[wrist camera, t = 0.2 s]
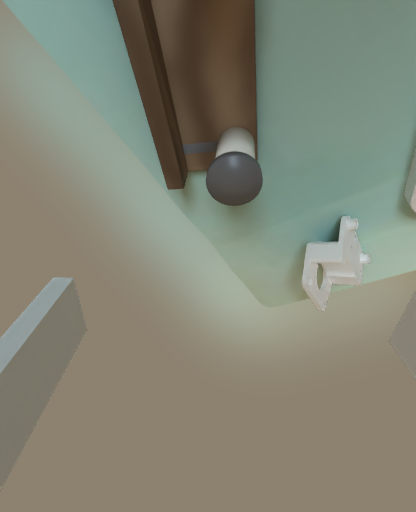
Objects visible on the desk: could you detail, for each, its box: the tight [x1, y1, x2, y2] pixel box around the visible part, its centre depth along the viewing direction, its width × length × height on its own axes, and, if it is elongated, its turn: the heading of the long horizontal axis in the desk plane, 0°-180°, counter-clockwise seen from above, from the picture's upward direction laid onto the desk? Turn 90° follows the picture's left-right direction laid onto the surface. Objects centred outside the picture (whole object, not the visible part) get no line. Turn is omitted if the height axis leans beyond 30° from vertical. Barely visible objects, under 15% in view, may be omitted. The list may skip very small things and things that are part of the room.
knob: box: [206, 127, 262, 206], centre depth 30 cm, size 6×6×8 cm
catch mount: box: [113, 0, 257, 190], centre depth 25 cm, size 11×26×5 cm, turn 8°
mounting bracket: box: [302, 216, 370, 311], centre depth 42 cm, size 12×6×11 cm, turn 33°
